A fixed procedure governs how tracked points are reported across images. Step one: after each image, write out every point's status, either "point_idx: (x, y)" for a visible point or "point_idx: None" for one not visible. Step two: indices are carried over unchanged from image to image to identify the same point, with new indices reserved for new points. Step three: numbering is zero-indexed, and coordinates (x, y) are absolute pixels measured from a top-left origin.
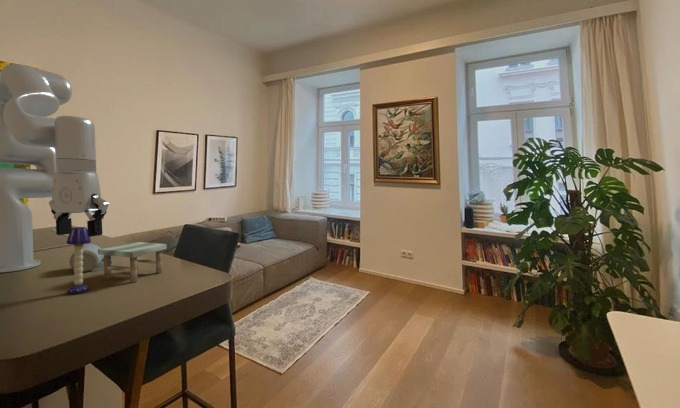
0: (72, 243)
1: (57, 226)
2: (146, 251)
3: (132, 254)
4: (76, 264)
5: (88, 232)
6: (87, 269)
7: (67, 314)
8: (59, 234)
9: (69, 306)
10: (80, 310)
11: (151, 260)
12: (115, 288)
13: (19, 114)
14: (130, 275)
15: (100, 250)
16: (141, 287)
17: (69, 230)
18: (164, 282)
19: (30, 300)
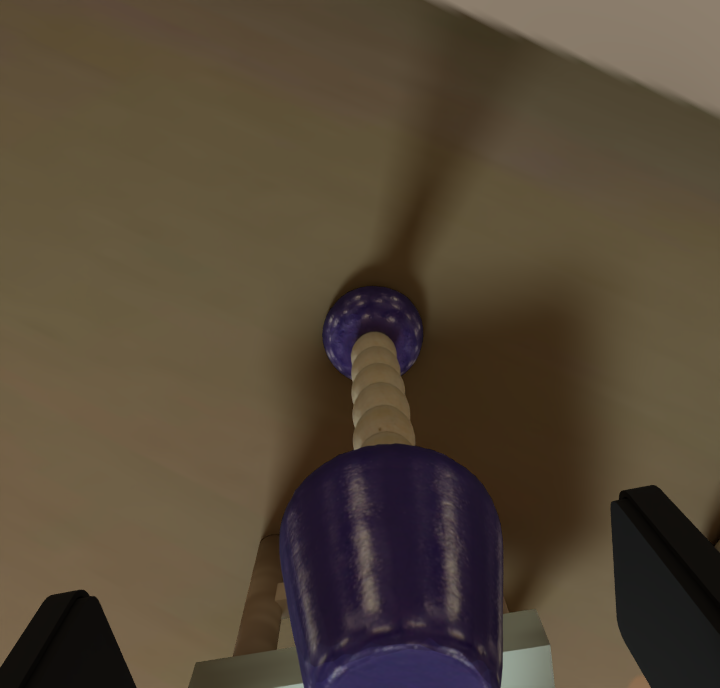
0: (330, 462)
1: (697, 573)
2: None
3: (195, 685)
4: (363, 394)
5: (35, 631)
6: (718, 547)
7: (27, 123)
8: (618, 501)
9: (153, 190)
10: (35, 186)
11: None
12: (250, 450)
13: None
14: (270, 564)
15: (519, 643)
16: (145, 516)
17: (634, 638)
18: (125, 608)
19: (458, 135)
